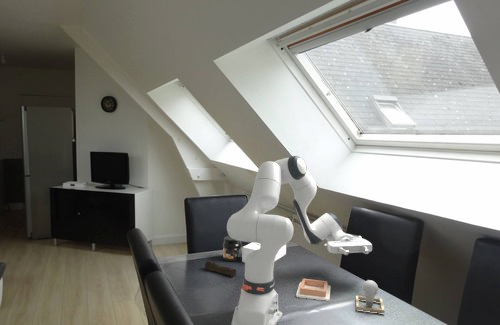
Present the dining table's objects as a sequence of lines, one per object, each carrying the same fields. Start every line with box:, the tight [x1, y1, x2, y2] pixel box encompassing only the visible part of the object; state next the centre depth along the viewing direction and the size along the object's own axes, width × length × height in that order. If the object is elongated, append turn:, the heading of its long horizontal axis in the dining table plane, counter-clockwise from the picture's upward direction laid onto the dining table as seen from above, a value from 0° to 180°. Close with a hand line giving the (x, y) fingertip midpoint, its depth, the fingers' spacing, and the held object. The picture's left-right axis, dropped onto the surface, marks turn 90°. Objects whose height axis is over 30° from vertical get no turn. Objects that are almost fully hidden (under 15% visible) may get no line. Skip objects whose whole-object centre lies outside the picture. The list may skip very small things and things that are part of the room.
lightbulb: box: [361, 279, 379, 308], centre depth 143 cm, size 6×6×11 cm
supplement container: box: [222, 235, 243, 262], centre depth 197 cm, size 10×10×12 cm
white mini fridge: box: [241, 242, 287, 264], centre depth 199 cm, size 14×25×11 cm, turn 148°
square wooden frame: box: [355, 295, 386, 314], centre depth 143 cm, size 10×10×2 cm
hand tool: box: [204, 260, 237, 278], centre depth 178 cm, size 19×4×5 cm, turn 53°
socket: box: [295, 278, 332, 302], centre depth 156 cm, size 14×14×4 cm
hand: (357, 252), depth 154 cm, fingers open, 8 cm apart
